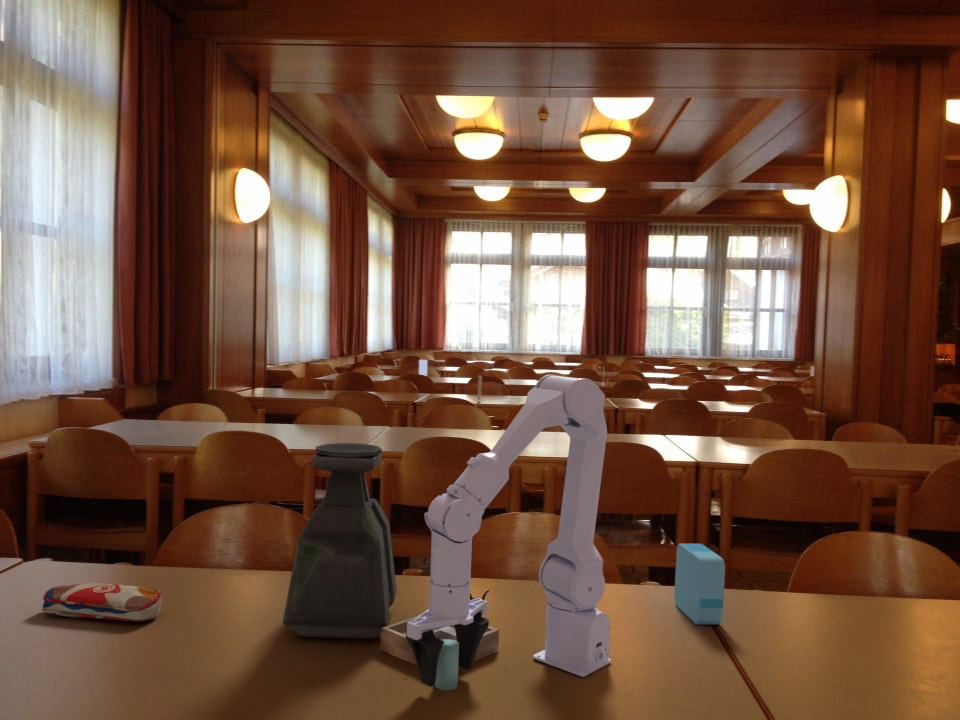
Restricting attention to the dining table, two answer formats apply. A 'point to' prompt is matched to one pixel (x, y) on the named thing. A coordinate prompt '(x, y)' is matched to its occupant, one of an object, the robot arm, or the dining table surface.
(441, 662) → the peg
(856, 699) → the dining table surface
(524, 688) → the dining table surface
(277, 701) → the dining table surface
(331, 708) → the dining table surface
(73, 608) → the pencil case
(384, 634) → the box
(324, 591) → the dark faceted flask
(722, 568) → the data package
